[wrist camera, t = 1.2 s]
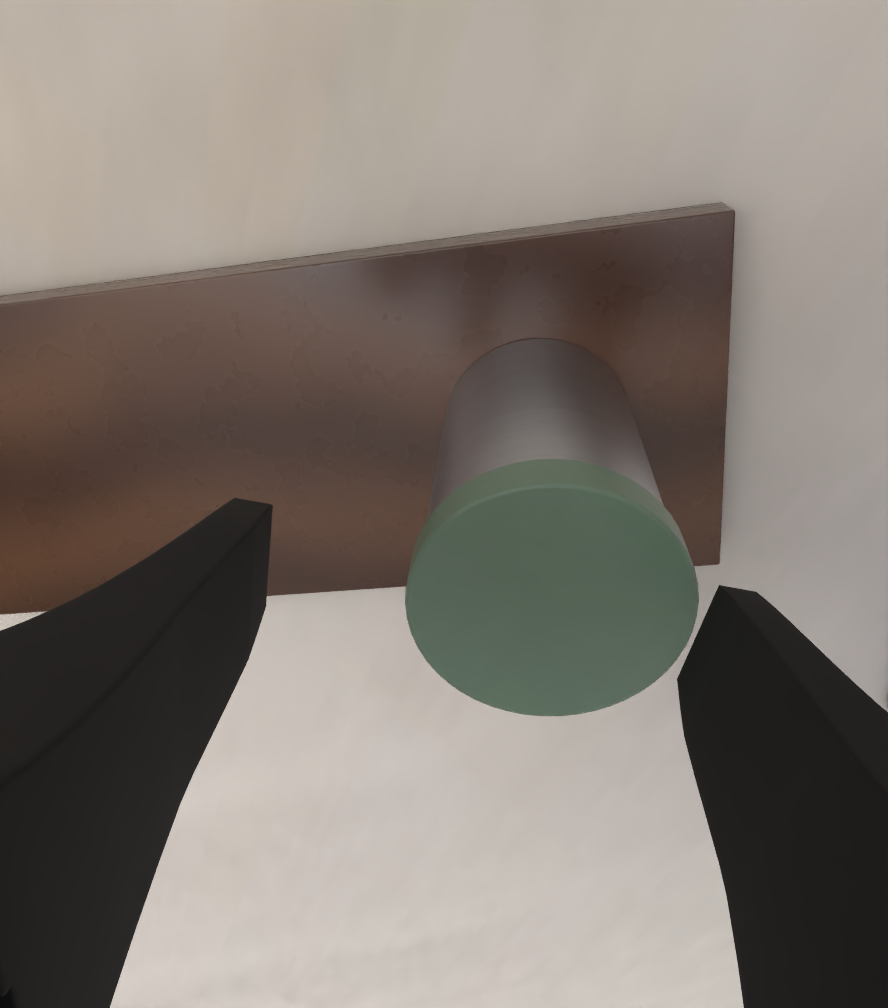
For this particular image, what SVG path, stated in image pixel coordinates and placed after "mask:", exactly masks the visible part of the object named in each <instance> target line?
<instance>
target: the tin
mask: <svg viewBox="0 0 888 1008" xmlns="http://www.w3.org/2000/svg"><path fill="white" fill-rule="evenodd" d="M698 602H699V595H698V582H697V578H696V573H695V569H694V566H693V563H692V560H691V558H690V555H689V552H688V549H687V546H686V544H685V541H684V539H683V536H682V534H681V531H680V529H679V527H678V525H677V524H676V522H675V520H674V519H673V517H672V516H671V514H670V513H669V512H668V510H667V509H666V508H665V507H664V505H663V502H662V499H661V496H660V493H659V491H658V488H657V485H656V482H655V479H654V476H653V473H652V470H651V467H650V464H649V461H648V458H647V455H646V452H645V449H644V446H643V443H642V440H641V438H640V435H639V432H638V429H637V426H636V423H635V420H634V417H633V414H632V411H631V408H630V405H629V402H628V399H627V396H626V394H625V392H624V389H623V387H622V385H621V383H620V382H619V380H618V378H617V377H616V375H615V374H614V373H613V372H612V370H611V369H610V368H609V367H608V366H607V365H606V364H605V363H604V362H603V361H602V360H601V359H599V358H598V357H597V356H595V355H594V354H592V353H591V352H589V351H587V350H585V349H583V348H581V347H579V346H576V345H574V344H571V343H568V342H564V341H559V340H554V339H527V340H521V341H516V342H512V343H509V344H506V345H503V346H501V347H499V348H497V349H494V350H492V351H491V352H489V353H487V354H486V355H484V356H482V357H481V358H480V359H479V360H477V361H476V362H475V363H474V364H472V365H471V366H470V368H469V369H468V370H467V371H466V372H465V373H464V374H463V375H462V377H461V378H460V380H459V381H458V382H457V384H456V386H455V388H454V390H453V392H452V394H451V396H450V399H449V402H448V405H447V410H446V415H445V420H444V426H443V431H442V437H441V443H440V448H439V454H438V459H437V465H436V470H435V476H434V481H433V487H432V492H431V498H430V503H429V509H428V514H427V520H426V522H425V524H424V526H423V528H422V530H421V531H420V533H419V536H418V538H417V541H416V544H415V546H414V549H413V554H412V559H411V564H410V569H409V574H408V579H407V584H406V594H405V606H406V615H407V620H408V624H409V627H410V631H411V634H412V636H413V638H414V640H415V642H416V644H417V647H418V648H419V650H420V651H421V653H422V655H423V656H424V658H425V659H426V661H427V662H428V663H429V664H430V665H431V666H432V668H433V669H434V670H435V671H436V672H437V673H438V674H439V675H440V676H441V677H442V678H443V679H445V680H446V681H447V682H448V683H449V684H451V685H452V686H453V687H455V688H456V689H458V690H459V691H461V692H462V693H464V694H466V695H468V696H470V697H471V698H473V699H475V700H477V701H480V702H482V703H485V704H487V705H489V706H492V707H495V708H499V709H502V710H505V711H510V712H515V713H520V714H526V715H536V716H565V715H575V714H581V713H586V712H591V711H595V710H599V709H602V708H606V707H609V706H612V705H614V704H617V703H619V702H621V701H624V700H626V699H628V698H630V697H632V696H634V695H635V694H637V693H639V692H641V691H642V690H644V689H645V688H647V687H648V686H650V685H651V684H652V683H654V682H655V681H656V680H657V679H658V678H660V677H661V676H662V675H663V674H664V673H665V672H666V671H667V670H668V669H669V668H670V667H671V666H672V664H673V663H674V662H675V661H676V660H677V658H678V657H679V655H680V654H681V652H682V651H683V649H684V648H685V646H686V644H687V642H688V640H689V638H690V635H691V633H692V631H693V628H694V624H695V620H696V617H697V611H698Z"/></svg>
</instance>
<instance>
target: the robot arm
mask: <svg viewBox="0 0 888 1008" xmlns="http://www.w3.org/2000/svg"><path fill="white" fill-rule="evenodd" d="M272 512H273V504H267V503H262V502H256V501H251V500H245V499H239V498H233V499H232V500H230V501H229V502H227V503H226V504H224V505H223V506H221V507H220V508H218V509H217V510H215V511H214V512H213V513H211V514H210V515H208V516H207V517H205V518H204V519H203V520H201V521H200V522H198V523H197V524H196V525H194V526H193V527H191V528H190V529H188V530H187V531H186V532H184V533H183V534H181V535H180V536H178V537H177V538H175V539H174V540H172V541H171V542H169V543H168V544H166V545H165V546H163V547H162V548H160V549H159V550H157V551H156V552H154V553H153V554H151V555H150V556H148V557H147V558H145V559H144V560H142V561H140V562H139V563H137V564H135V565H134V566H132V567H130V568H129V569H127V570H125V571H124V572H122V573H120V574H118V575H117V576H115V577H113V578H112V579H110V580H108V581H107V582H105V583H103V584H101V585H100V586H98V587H96V588H94V589H92V590H90V591H88V592H86V593H85V594H83V595H81V596H79V597H77V598H75V599H73V600H71V601H69V602H66V603H64V604H62V605H60V606H58V607H56V608H54V609H52V610H49V611H47V612H45V613H43V614H41V615H39V616H36V617H34V618H32V619H29V620H27V621H25V622H22V623H20V624H17V625H15V626H12V627H9V628H7V629H4V630H2V631H0V1008H110V1005H111V1002H112V999H113V995H114V992H115V989H116V986H117V983H118V980H119V977H120V974H121V971H122V968H123V965H124V962H125V959H126V956H127V953H128V950H129V947H130V944H131V941H132V938H133V935H134V932H135V929H136V926H137V924H138V921H139V918H140V915H141V912H142V909H143V906H144V903H145V901H146V898H147V895H148V892H149V889H150V886H151V883H152V880H153V878H154V875H155V872H156V869H157V866H158V863H159V861H160V858H161V855H162V852H163V850H164V847H165V844H166V841H167V839H168V836H169V833H170V830H171V828H172V825H173V822H174V819H175V817H176V814H177V811H178V808H179V806H180V803H181V801H182V798H183V796H184V794H185V791H186V789H187V787H188V784H189V782H190V780H191V778H192V775H193V773H194V771H195V769H196V767H197V765H198V763H199V761H200V759H201V757H202V755H203V753H204V751H205V749H206V746H207V744H208V742H209V740H210V738H211V736H212V734H213V732H214V730H215V728H216V726H217V724H218V722H219V720H220V718H221V716H222V714H223V712H224V709H225V707H226V705H227V703H228V701H229V699H230V697H231V695H232V693H233V691H234V689H235V687H236V684H237V682H238V680H239V678H240V676H241V674H242V672H243V670H244V668H245V666H246V663H247V661H248V659H249V656H250V653H251V650H252V647H253V644H254V641H255V638H256V635H257V632H258V629H259V626H260V623H261V620H262V617H263V614H264V611H265V608H266V597H267V583H268V568H269V554H270V540H271V526H272ZM677 681H678V691H679V700H680V710H681V717H682V724H683V731H684V737H685V741H686V745H687V749H688V752H689V756H690V760H691V764H692V767H693V771H694V775H695V779H696V782H697V786H698V789H699V793H700V797H701V800H702V804H703V807H704V811H705V814H706V818H707V822H708V825H709V829H710V832H711V836H712V840H713V843H714V847H715V850H716V854H717V857H718V861H719V865H720V869H721V873H722V878H723V882H724V886H725V890H726V895H727V901H728V907H729V913H730V919H731V925H732V931H733V937H734V943H735V949H736V955H737V961H738V968H739V975H740V982H741V990H742V997H743V1004H744V1008H888V712H887V711H885V710H884V709H883V708H882V707H881V706H880V705H878V704H877V703H876V702H875V701H874V700H873V699H872V698H871V697H869V696H868V695H867V694H866V693H865V692H864V691H863V690H862V689H861V688H859V687H858V686H857V685H856V684H855V683H854V682H853V681H852V680H851V679H850V678H849V677H848V676H846V675H845V674H844V673H843V672H842V671H841V670H840V669H839V668H838V667H837V666H836V665H835V664H834V663H833V662H832V661H831V660H829V659H828V658H827V657H826V656H825V655H824V654H823V653H822V652H821V651H820V650H819V649H818V648H817V647H816V646H815V645H814V644H813V643H812V642H811V641H810V640H809V639H808V638H807V637H805V636H804V635H803V634H802V633H801V632H800V631H799V630H798V629H797V628H796V627H795V626H794V625H793V624H792V623H791V622H790V621H789V620H788V619H787V618H786V617H784V616H783V615H782V614H781V613H780V612H779V611H778V610H777V609H776V608H775V607H774V606H773V605H771V604H770V603H769V602H768V601H767V600H766V599H764V598H763V597H762V596H761V595H759V594H758V593H757V592H754V591H748V590H743V589H737V588H732V587H726V586H721V585H719V587H718V589H717V591H716V593H715V596H714V598H713V600H712V602H711V604H710V607H709V609H708V611H707V613H706V616H705V618H704V620H703V622H702V625H701V627H700V629H699V631H698V634H697V636H696V638H695V640H694V643H693V645H692V647H691V649H690V652H689V654H688V656H687V658H686V660H685V663H684V665H683V667H682V669H681V672H680V674H679V676H678V678H677Z"/></svg>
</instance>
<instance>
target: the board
mask: <svg viewBox="0 0 888 1008" xmlns="http://www.w3.org/2000/svg"><path fill="white" fill-rule="evenodd" d="M734 226H735V211H734V210H733V209H731V208H730V207H729V206H727V205H726V204H724V203H722V202H721V203H714V204H706V205H698V206H691V207H683V208H675V209H668V210H660V211H652V212H644V213H637V214H629V215H621V216H614V217H606V218H598V219H591V220H583V221H575V222H568V223H560V224H552V225H544V226H537V227H529V228H521V229H514V230H506V231H498V232H491V233H483V234H475V235H468V236H460V237H452V238H445V239H437V240H429V241H421V242H414V243H406V244H398V245H391V246H383V247H375V248H368V249H360V250H352V251H345V252H337V253H329V254H322V255H314V256H306V257H298V258H291V259H283V260H275V261H268V262H260V263H252V264H245V265H237V266H229V267H222V268H214V269H206V270H198V271H191V272H183V273H175V274H168V275H160V276H152V277H145V278H137V279H129V280H122V281H114V282H106V283H99V284H91V285H83V286H75V287H68V288H60V289H52V290H45V291H37V292H29V293H22V294H14V295H6V296H0V614H15V613H29V612H43V611H49V610H52V609H54V608H56V607H58V606H60V605H62V604H64V603H66V602H69V601H71V600H73V599H75V598H77V597H79V596H81V595H83V594H85V593H86V592H88V591H90V590H92V589H94V588H96V587H98V586H100V585H101V584H103V583H105V582H107V581H108V580H110V579H112V578H113V577H115V576H117V575H118V574H120V573H122V572H124V571H125V570H127V569H129V568H130V567H132V566H134V565H135V564H137V563H139V562H140V561H142V560H144V559H145V558H147V557H148V556H150V555H151V554H153V553H154V552H156V551H157V550H159V549H160V548H162V547H163V546H165V545H166V544H168V543H169V542H171V541H172V540H174V539H175V538H177V537H178V536H180V535H181V534H183V533H184V532H186V531H187V530H188V529H190V528H191V527H193V526H194V525H196V524H197V523H198V522H200V521H201V520H203V519H204V518H205V517H207V516H208V515H210V514H211V513H213V512H214V511H215V510H217V509H218V508H220V507H221V506H223V505H224V504H226V503H227V502H229V501H230V500H232V499H233V498H239V499H245V500H251V501H256V502H262V503H267V504H273V512H272V526H271V540H270V554H269V568H268V583H267V596H273V595H287V594H302V593H316V592H330V591H345V590H359V589H373V588H388V587H402V586H406V584H407V579H408V574H409V569H410V564H411V559H412V554H413V549H414V546H415V544H416V541H417V538H418V536H419V533H420V531H421V530H422V528H423V526H424V524H425V522H426V520H427V514H428V509H429V503H430V498H431V492H432V487H433V481H434V476H435V470H436V465H437V459H438V454H439V448H440V443H441V437H442V431H443V426H444V420H445V415H446V410H447V405H448V402H449V399H450V396H451V394H452V392H453V390H454V388H455V386H456V384H457V382H458V381H459V380H460V378H461V377H462V375H463V374H464V373H465V372H466V371H467V370H468V369H469V368H470V366H471V365H472V364H474V363H475V362H476V361H477V360H479V359H480V358H481V357H482V356H484V355H486V354H487V353H489V352H491V351H492V350H494V349H497V348H499V347H501V346H503V345H506V344H509V343H512V342H516V341H521V340H527V339H554V340H559V341H564V342H568V343H571V344H574V345H576V346H579V347H581V348H583V349H585V350H587V351H589V352H591V353H592V354H594V355H595V356H597V357H598V358H599V359H601V360H602V361H603V362H604V363H605V364H606V365H607V366H608V367H609V368H610V369H611V370H612V372H613V373H614V374H615V375H616V377H617V378H618V380H619V382H620V383H621V385H622V387H623V389H624V392H625V394H626V396H627V399H628V402H629V405H630V408H631V411H632V414H633V417H634V420H635V423H636V426H637V429H638V432H639V435H640V438H641V440H642V443H643V446H644V449H645V452H646V455H647V458H648V461H649V464H650V467H651V470H652V473H653V476H654V479H655V482H656V485H657V488H658V491H659V493H660V496H661V499H662V502H663V505H664V507H665V508H666V509H667V510H668V512H669V513H670V514H671V516H672V517H673V519H674V520H675V522H676V524H677V525H678V527H679V529H680V531H681V534H682V536H683V539H684V541H685V544H686V546H687V549H688V552H689V555H690V558H691V560H692V563H693V566H703V565H717V564H719V563H720V543H721V520H722V498H723V475H724V452H725V430H726V407H727V384H728V362H729V339H730V316H731V294H732V271H733V248H734Z"/></svg>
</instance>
